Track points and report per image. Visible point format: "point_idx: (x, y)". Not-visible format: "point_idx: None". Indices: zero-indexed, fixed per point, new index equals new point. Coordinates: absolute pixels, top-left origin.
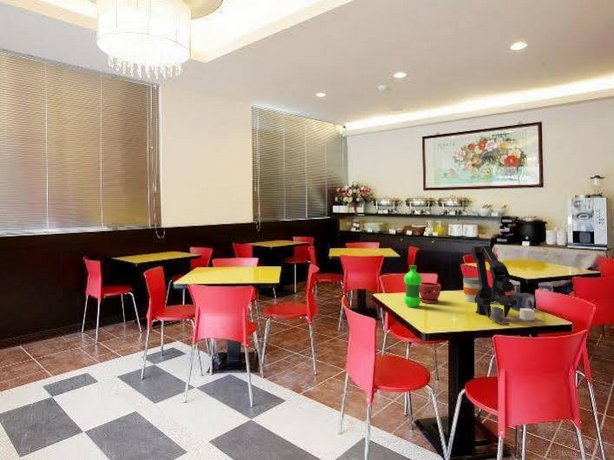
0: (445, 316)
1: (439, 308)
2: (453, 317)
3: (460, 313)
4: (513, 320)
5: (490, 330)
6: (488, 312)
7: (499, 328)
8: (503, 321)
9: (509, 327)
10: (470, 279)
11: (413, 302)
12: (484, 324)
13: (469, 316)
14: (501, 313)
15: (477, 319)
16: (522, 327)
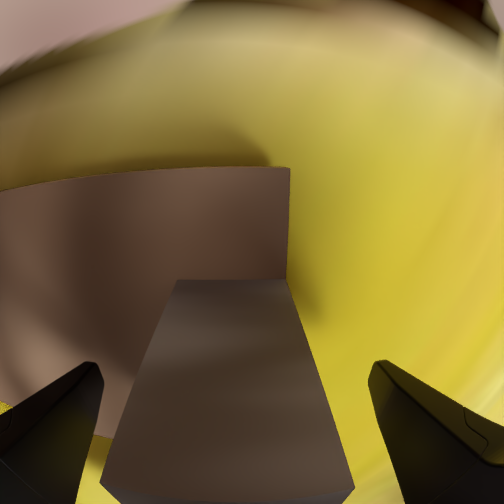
0: (497, 405)
1: (400, 499)
2: (487, 399)
3: (380, 478)
4: (26, 279)
5: (484, 20)
6: (451, 404)
7: (386, 21)
8: (190, 230)
9: (208, 32)
10: None
11: None
12: (465, 220)
13: (384, 449)
14: (186, 380)
15: None
16: (37, 63)
